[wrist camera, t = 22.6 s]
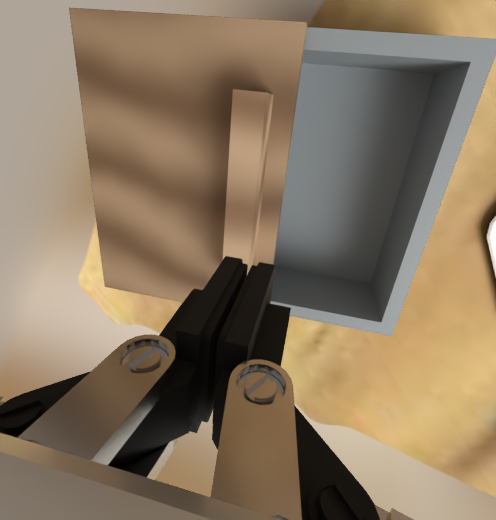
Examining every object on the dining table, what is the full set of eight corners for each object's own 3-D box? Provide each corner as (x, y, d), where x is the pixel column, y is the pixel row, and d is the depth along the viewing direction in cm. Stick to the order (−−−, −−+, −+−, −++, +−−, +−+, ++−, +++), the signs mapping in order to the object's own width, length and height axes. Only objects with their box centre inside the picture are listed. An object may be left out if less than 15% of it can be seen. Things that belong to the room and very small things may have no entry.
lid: (79, 11, 22) (33, -7, 19) (307, 26, 20) (303, 7, 16) (110, 281, 32) (84, 302, 28) (266, 313, 30) (258, 340, 26)
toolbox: (182, 39, 29) (137, 16, 22) (451, 58, 26) (501, 39, 18) (182, 255, 39) (151, 288, 32) (377, 290, 35) (391, 336, 28)
